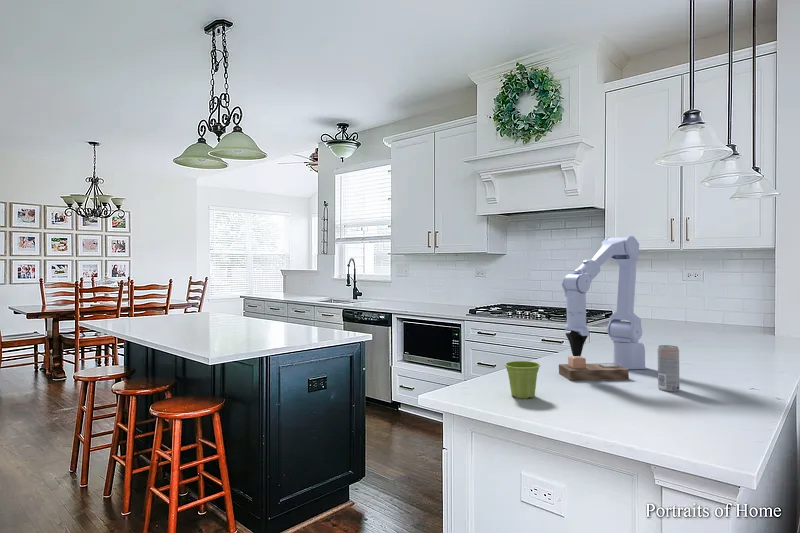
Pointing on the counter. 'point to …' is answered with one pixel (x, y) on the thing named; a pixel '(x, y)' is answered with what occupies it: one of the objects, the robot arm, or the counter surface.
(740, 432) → the counter surface
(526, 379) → the plant pot
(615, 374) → the button panel
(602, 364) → the white marbled block
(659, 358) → the energy drink
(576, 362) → the terracotta button
